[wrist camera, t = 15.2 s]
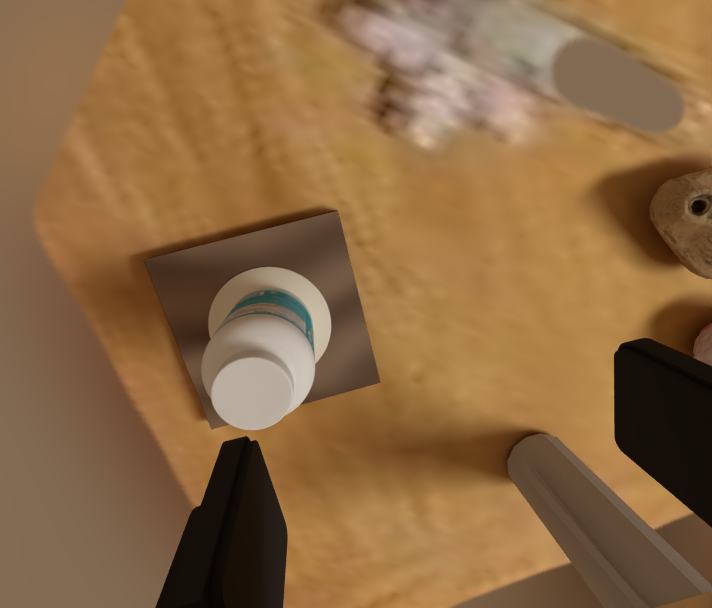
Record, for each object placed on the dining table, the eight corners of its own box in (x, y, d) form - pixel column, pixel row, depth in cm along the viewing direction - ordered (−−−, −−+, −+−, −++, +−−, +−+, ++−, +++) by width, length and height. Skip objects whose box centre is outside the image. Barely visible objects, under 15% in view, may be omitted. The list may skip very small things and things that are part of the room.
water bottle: (576, 444, 45) (883, 724, 21) (534, 495, 46) (778, 814, 22) (519, 408, 43) (787, 675, 19) (476, 462, 44) (676, 777, 20)
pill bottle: (288, 375, 37) (276, 471, 24) (215, 339, 35) (160, 421, 22) (328, 309, 36) (339, 372, 23) (255, 269, 34) (222, 311, 21)
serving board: (150, 257, 34) (142, 260, 33) (336, 210, 35) (338, 210, 33) (214, 420, 39) (210, 430, 37) (377, 375, 40) (380, 383, 38)
